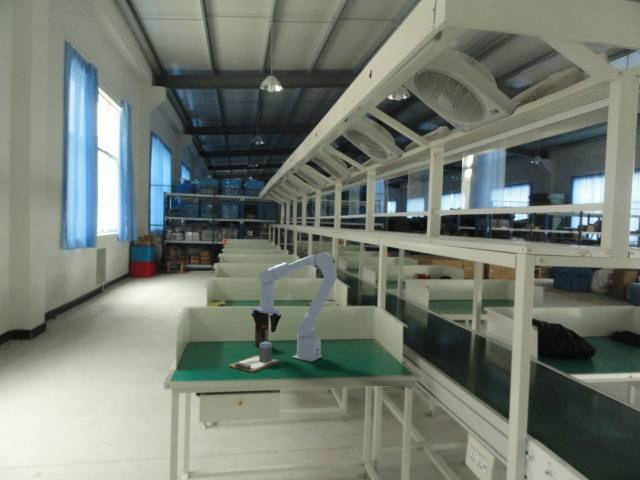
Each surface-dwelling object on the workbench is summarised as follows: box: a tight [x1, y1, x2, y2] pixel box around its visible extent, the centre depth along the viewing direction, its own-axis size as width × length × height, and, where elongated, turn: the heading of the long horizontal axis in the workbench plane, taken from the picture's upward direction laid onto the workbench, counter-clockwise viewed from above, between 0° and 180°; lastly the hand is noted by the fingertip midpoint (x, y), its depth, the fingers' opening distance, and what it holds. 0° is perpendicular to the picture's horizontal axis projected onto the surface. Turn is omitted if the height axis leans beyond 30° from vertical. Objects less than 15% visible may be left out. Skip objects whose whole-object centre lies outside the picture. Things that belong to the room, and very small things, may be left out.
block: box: [258, 341, 273, 363], centre depth 160 cm, size 4×4×7 cm
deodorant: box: [254, 313, 270, 348], centre depth 185 cm, size 6×6×15 cm
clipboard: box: [228, 354, 281, 373], centre depth 157 cm, size 12×16×2 cm
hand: (266, 330), depth 171 cm, fingers open, 7 cm apart
